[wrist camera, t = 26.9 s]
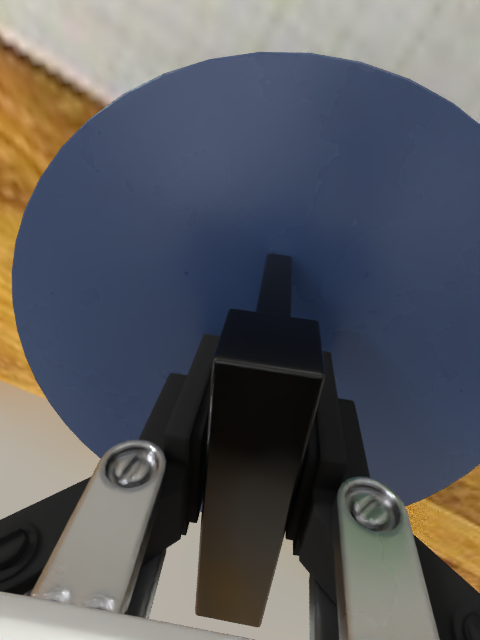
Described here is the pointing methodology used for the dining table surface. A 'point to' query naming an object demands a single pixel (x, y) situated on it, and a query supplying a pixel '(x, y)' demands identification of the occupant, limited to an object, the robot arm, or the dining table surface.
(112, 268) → the lid
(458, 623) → the robot arm
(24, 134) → the dining table surface
